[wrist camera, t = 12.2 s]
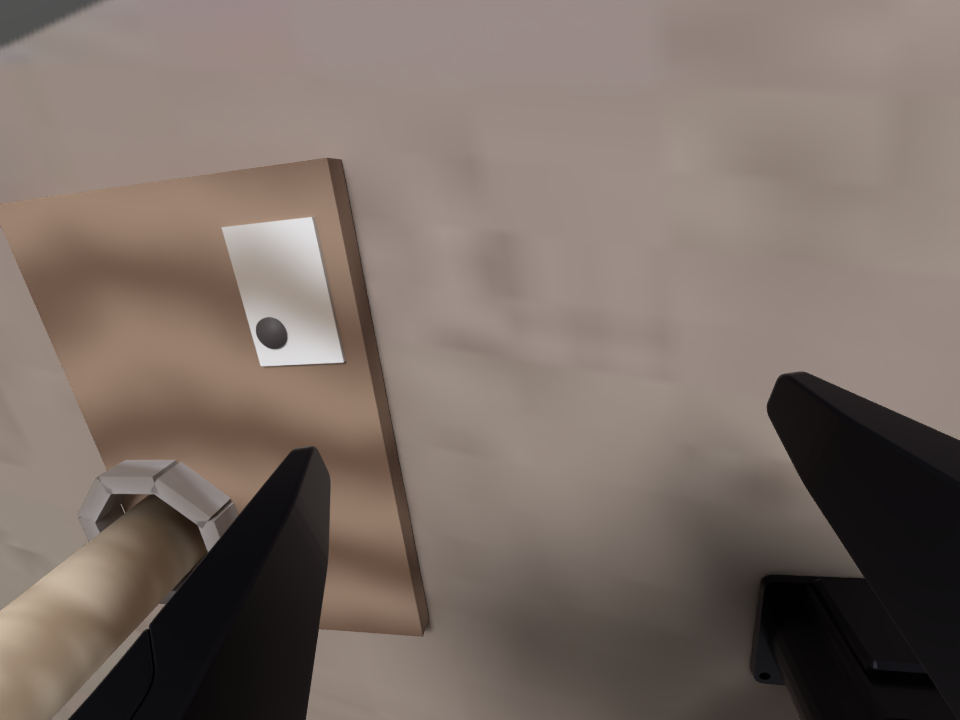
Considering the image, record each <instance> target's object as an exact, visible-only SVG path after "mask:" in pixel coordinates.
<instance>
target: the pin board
mask: <svg viewBox="0 0 960 720" xmlns="http://www.w3.org/2000/svg"><path fill="white" fill-rule="evenodd" d="M0 225H1V227H2V229H3V232H4V234H5V236H6V239H7V241H8V243H9V246H10V248H11V250H12V253H13V255H14V257H15V259H16V262H17V264H18V266H19V269H20V271H21V273H22V276H23V278H24V280H25V282H26V285H27V287H28V289H29V292H30V294H31V296H32V299H33V301H34V303H35V305H36V308H37V310H38V312H39V315H40V317H41V319H42V322H43V324H44V326H45V329H46V331H47V333H48V335H49V338H50V340H51V342H52V345H53V347H54V349H55V352H56V354H57V356H58V358H59V361H60V363H61V365H62V368H63V370H64V372H65V375H66V377H67V379H68V381H69V384H70V386H71V388H72V391H73V393H74V395H75V398H76V400H77V402H78V405H79V407H80V409H81V411H82V414H83V416H84V418H85V421H86V423H87V425H88V428H89V430H90V432H91V434H92V437H93V439H94V441H95V444H96V446H97V448H98V451H99V453H100V455H101V457H102V460H103V462H104V464H105V467H106V469H107V472H105V473H103V474H102V475H100V476H99V477H97V478H96V479H95V481H94V482H93V484H92V486H91V488H90V490H89V492H88V494H87V496H86V498H85V500H84V502H83V504H82V506H81V508H80V509H79V511H78V513H77V514H78V515H79V516H80V517H78V520H79V522H80V525H81V527H82V529H83V531H84V533H85V535H86V537H87V539H88V541H90V540H92V539H93V538H94V537H95V536H97V535H98V534H99V533H101V532H102V531H103V530H104V529H106V528H107V527H108V526H109V525H111V524H112V523H113V522H115V521H116V520H117V519H118V518H120V517H121V516H122V515H124V512H123V509H122V507H121V505H120V504H122V506H123V508H124V510H125V513H126V512H127V511H129V510H130V509H131V508H132V507H134V506H135V505H136V504H138V503H139V502H140V501H141V500H143V499H144V498H145V497H147V496H148V495H150V494H155V495H156V496H158V497H159V498H160V499H162V500H163V501H165V502H166V503H167V504H169V505H170V506H172V507H173V508H174V509H176V510H177V511H178V512H180V513H181V514H183V515H184V516H185V517H187V518H188V519H190V520H191V521H192V522H194V523H195V524H197V525H198V527H199V530H200V532H201V535H202V538H203V540H204V543H205V546H206V548H207V551H208V552H209V551H210V549H211V548H212V547H213V546H214V544H215V543H216V542H217V541H218V540H219V538H220V537H221V536H222V535H223V533H224V532H225V531H226V530H227V529H228V527H229V526H230V525H231V524H232V522H233V521H234V520H235V519H236V518H237V516H238V515H239V514H240V513H241V511H242V510H243V509H244V508H245V506H246V505H247V504H248V503H249V502H250V500H251V499H252V498H253V497H254V495H255V494H256V493H257V492H258V491H259V489H260V488H261V487H262V486H263V484H264V483H265V482H266V481H267V479H268V478H269V477H270V476H271V475H272V473H273V472H274V471H275V470H276V468H277V467H278V466H279V465H280V464H281V462H282V461H283V460H284V459H285V457H286V456H287V455H288V454H289V453H290V451H292V450H293V449H295V448H301V447H307V446H315V447H316V448H317V449H318V450H319V453H320V455H321V457H322V459H323V461H324V463H325V465H326V467H327V469H328V472H329V475H330V480H331V494H330V530H329V558H328V568H327V576H326V582H325V589H324V596H323V603H322V610H321V617H320V624H319V629H327V630H340V631H354V632H368V633H381V634H395V635H409V636H422V637H423V634H424V631H425V628H426V625H427V622H428V618H429V616H428V611H427V606H426V600H425V595H424V590H423V585H422V580H421V574H420V569H419V564H418V559H417V553H416V548H415V543H414V538H413V533H412V527H411V522H410V517H409V512H408V506H407V501H406V496H405V491H404V485H403V480H402V475H401V470H400V465H399V459H398V454H397V449H396V444H395V438H394V433H393V428H392V423H391V418H390V412H389V407H388V402H387V397H386V391H385V386H384V381H383V376H382V370H381V365H380V360H379V355H378V350H377V344H376V339H375V334H374V329H373V323H372V318H371V313H370V308H369V303H368V297H367V292H366V287H365V282H364V276H363V271H362V266H361V261H360V255H359V250H358V245H357V240H356V235H355V229H354V224H353V219H352V214H351V208H350V203H349V198H348V193H347V188H346V182H345V177H344V172H343V167H342V161H341V160H340V159H332V158H323V159H316V160H309V161H301V162H294V163H287V164H280V165H273V166H266V167H259V168H251V169H244V170H237V171H230V172H223V173H216V174H208V175H201V176H194V177H187V178H180V179H173V180H166V181H158V182H151V183H144V184H137V185H130V186H123V187H116V188H108V189H101V190H94V191H87V192H80V193H73V194H66V195H58V196H51V197H44V198H37V199H30V200H23V201H15V202H8V203H1V204H0ZM208 552H207V553H208ZM207 553H206V554H207ZM206 554H205V555H204V556H203V557H202V558H201V559H200V560H199V561H198V562H197V563H196V565H195V566H194V567H193V568H192V569H191V570H190V571H189V572H188V573H187V574H186V575H185V576H184V577H183V578H182V580H181V581H180V582H179V583H178V584H177V585H176V586H175V587H174V588H173V589H172V590H171V591H170V592H169V593H168V595H167V596H166V597H165V598H164V599H163V600H162V601H161V602H160V603H159V604H165V605H166V603H167V602H168V601H169V600H170V598H171V597H172V596H173V595H174V594H175V592H176V591H177V590H178V589H179V587H180V586H181V585H182V584H183V583H184V581H185V580H186V579H187V578H188V576H189V575H190V574H191V573H192V571H193V570H194V569H195V568H196V567H197V565H198V564H199V563H200V562H201V560H202V559H203V558H204V557H205V556H206Z"/></svg>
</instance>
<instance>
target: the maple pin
mask: <svg viewBox="0 0 960 720" xmlns="http://www.w3.org/2000/svg"><path fill="white" fill-rule="evenodd" d="M207 552H208V551H207V548H206V546H205V543H204V540H203V538H202V535H201V532H200V530H199V527H198V525H197V524H195V523H194V522H192V521H191V520H190V519H188V518H187V517H185V516H184V515H183V514H181V513H180V512H178V511H177V510H176V509H174V508H173V507H172V506H170V505H169V504H167V503H166V502H165V501H163V500H162V499H160V498H159V497H158V496H156V495H155V494H150V495H148V496H147V497H145V498H144V499H143V500H141V501H140V502H139V503H138V504H136V505H135V506H134V507H132V508H131V509H130V510H129V511H127V512H126V513H125V514H124V515H122V516H121V517H120V518H118V519H117V520H116V521H115V522H113V523H112V524H111V525H109V526H108V527H107V528H106V529H104V530H103V531H102V532H101V533H99V534H98V535H97V536H95V537H94V538H93V539H92V540H90V541H89V542H88V543H86V544H85V545H84V546H83V547H81V548H80V549H79V550H77V551H76V552H75V553H74V554H72V555H71V556H70V557H69V558H67V559H66V560H65V561H63V562H62V563H61V564H60V565H58V566H57V567H56V568H54V569H53V570H52V571H51V572H49V573H48V574H47V575H46V576H44V577H43V578H42V579H40V580H39V581H38V582H37V583H35V584H34V585H33V586H31V587H30V588H29V589H28V590H26V591H25V592H24V593H23V594H21V595H20V596H19V597H17V598H16V599H15V600H14V601H12V602H11V603H10V604H8V605H7V606H6V607H5V608H3V609H2V610H1V611H0V720H51V719H52V718H53V717H54V716H55V715H56V713H57V712H58V711H59V710H60V709H61V708H62V707H63V706H64V705H65V704H66V703H67V702H68V701H69V700H70V698H71V697H72V696H73V695H74V694H75V693H76V692H77V691H78V690H79V689H80V688H81V687H82V686H83V685H84V683H85V682H86V681H87V680H88V679H89V678H90V677H91V676H92V675H93V674H94V673H95V672H96V671H97V670H98V668H99V667H100V666H101V665H102V664H103V663H104V662H105V661H106V660H107V659H108V658H109V657H110V656H111V655H112V653H113V652H114V651H115V650H116V649H117V648H118V647H119V646H120V645H121V644H122V643H123V642H124V641H125V640H126V638H127V637H128V636H129V635H130V634H131V633H132V632H133V631H134V630H135V629H136V628H137V627H138V626H139V625H140V623H141V622H142V621H143V620H144V619H145V618H146V617H147V616H148V615H149V614H150V613H151V612H152V611H153V610H154V608H155V607H156V606H157V605H158V604H159V603H160V602H161V601H162V600H163V599H164V598H165V597H166V596H167V595H168V593H169V592H170V591H171V590H172V589H173V588H174V587H175V586H176V585H177V584H178V583H179V582H180V581H181V580H182V578H183V577H184V576H185V575H186V574H187V573H188V572H189V571H190V570H191V569H192V568H193V567H194V566H195V565H196V563H197V562H198V561H199V560H200V559H201V558H202V557H203V556H204V555H205V554H206V553H207Z"/></svg>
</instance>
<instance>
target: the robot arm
mask: <svg viewBox="0 0 960 720" xmlns="http://www.w3.org/2000/svg"><path fill="white" fill-rule="evenodd" d="M767 413H768V416H769V418H770V420H771V422H772V424H773V426H774V428H775V430H776V432H777V434H778V436H779V438H780V440H781V442H782V443H783V445H784V447H785V449H786V451H787V453H788V455H789V457H790V459H791V461H792V463H793V465H794V467H795V469H796V471H797V473H798V474H799V476H800V478H801V480H802V482H803V483H804V485H805V487H806V488H807V490H808V492H809V493H810V495H811V496H812V498H813V499H814V501H815V502H816V504H817V505H818V507H819V509H820V510H821V512H822V513H823V515H824V516H825V518H826V519H827V521H828V522H829V524H830V525H831V527H832V528H833V530H834V531H835V533H836V535H837V536H838V538H839V539H840V541H841V542H842V544H843V545H844V547H845V548H846V550H847V551H848V553H849V554H850V556H851V557H852V559H853V561H854V562H855V564H856V565H857V567H858V568H859V570H860V571H861V573H862V574H863V576H864V577H865V579H862V578H838V577H813V576H788V575H769V576H766V577H765V578H763V579H762V581H761V585H760V594H759V602H758V611H757V619H756V628H755V636H754V645H753V653H752V662H751V671H752V674H753V676H754V678H755V680H756V681H758V682H760V683H765V684H777V685H786V687H787V690H788V692H789V694H790V696H791V699H792V701H793V703H794V705H795V708H796V710H797V712H798V714H799V717H800V719H801V720H960V440H958V439H956V438H953V437H951V436H949V435H946V434H944V433H942V432H940V431H937V430H935V429H933V428H931V427H928V426H926V425H924V424H922V423H919V422H917V421H915V420H913V419H910V418H908V417H906V416H904V415H901V414H899V413H897V412H895V411H892V410H890V409H888V408H886V407H883V406H881V405H879V404H877V403H874V402H872V401H870V400H867V399H865V398H863V397H861V396H858V395H856V394H854V393H852V392H849V391H847V390H845V389H843V388H840V387H838V386H836V385H834V384H831V383H829V382H827V381H825V380H822V379H820V378H818V377H816V376H813V375H811V374H809V373H806V372H793V373H787V374H782V375H781V376H779V377H778V379H777V381H776V383H775V385H774V388H773V390H772V393H771V395H770V398H769V400H768V403H767ZM330 494H331V480H330V475H329V472H328V469H327V467H326V465H325V463H324V461H323V459H322V457H321V455H320V453H319V450H318V449H317V448H316V447H315V446H307V447H301V448H295V449H293V450H292V451H290V453H289V454H288V455H287V456H286V457H285V459H284V460H283V461H282V462H281V464H280V465H279V466H278V467H277V468H276V470H275V471H274V472H273V473H272V475H271V476H270V477H269V478H268V479H267V481H266V482H265V483H264V484H263V486H262V487H261V488H260V489H259V491H258V492H257V493H256V494H255V495H254V497H253V498H252V499H251V500H250V502H249V503H248V504H247V505H246V506H245V508H244V509H243V510H242V511H241V513H240V514H239V515H238V516H237V518H236V519H235V520H234V521H233V522H232V524H231V525H230V526H229V527H228V529H227V530H226V531H225V532H224V533H223V535H222V536H221V537H220V538H219V540H218V541H217V542H216V543H215V544H214V546H213V547H212V548H211V549H210V551H209V552H208V553H207V554H206V556H205V557H204V558H203V559H202V560H201V562H200V563H199V564H198V565H197V567H196V568H195V569H194V570H193V571H192V573H191V574H190V575H189V576H188V578H187V579H186V580H185V581H184V583H183V584H182V585H181V586H180V587H179V589H178V590H177V591H176V592H175V594H174V595H173V596H172V597H171V598H170V600H169V601H168V602H167V603H166V605H165V606H164V607H163V608H162V609H161V611H160V612H159V613H158V614H157V616H156V617H155V618H154V619H153V621H152V622H151V623H150V624H149V629H146V630H144V631H143V633H142V634H141V635H140V636H139V637H138V639H137V640H136V641H135V642H134V644H133V645H132V646H131V647H130V648H129V650H128V651H127V652H126V653H125V655H124V656H123V657H122V658H121V659H120V660H119V662H118V663H117V664H116V665H115V666H114V668H113V669H112V670H111V671H110V672H109V674H108V675H107V676H106V677H105V678H104V679H103V681H102V682H101V683H100V684H99V685H98V687H97V688H96V689H95V690H94V691H93V692H92V694H91V695H90V696H89V697H88V698H87V699H86V700H85V701H84V702H83V704H82V705H81V706H80V707H79V708H78V709H77V710H76V711H75V712H74V714H73V715H72V716H71V717H70V718H69V719H68V720H306V714H307V707H308V700H309V693H310V686H311V680H312V673H313V666H314V659H315V652H316V645H317V638H318V631H319V624H320V617H321V610H322V603H323V596H324V589H325V582H326V576H327V568H328V558H329V530H330ZM773 586H777V587H774V588H772V587H773Z"/></svg>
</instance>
